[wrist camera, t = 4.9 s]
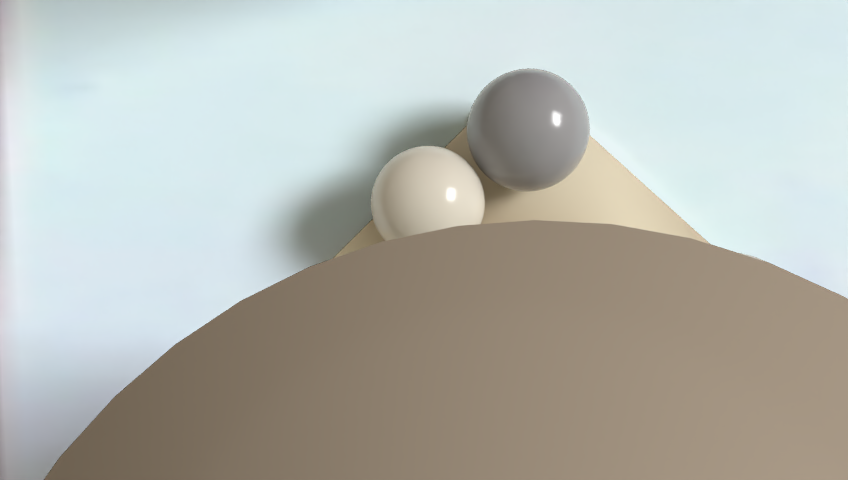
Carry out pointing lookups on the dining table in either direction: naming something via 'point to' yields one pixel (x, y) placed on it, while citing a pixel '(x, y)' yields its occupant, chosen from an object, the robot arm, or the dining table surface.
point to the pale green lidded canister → (498, 368)
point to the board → (567, 199)
